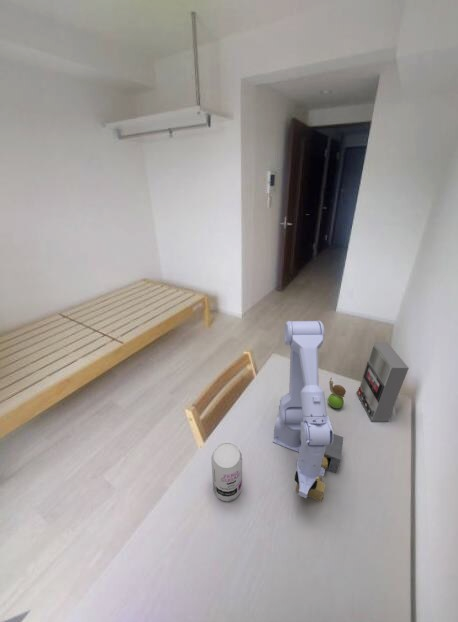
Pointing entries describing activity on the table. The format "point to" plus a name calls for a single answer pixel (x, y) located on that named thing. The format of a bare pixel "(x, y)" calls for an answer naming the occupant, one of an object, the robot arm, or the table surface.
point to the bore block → (334, 453)
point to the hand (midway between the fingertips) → (304, 485)
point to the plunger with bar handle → (318, 484)
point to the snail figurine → (336, 395)
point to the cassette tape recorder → (381, 382)
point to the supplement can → (227, 471)
